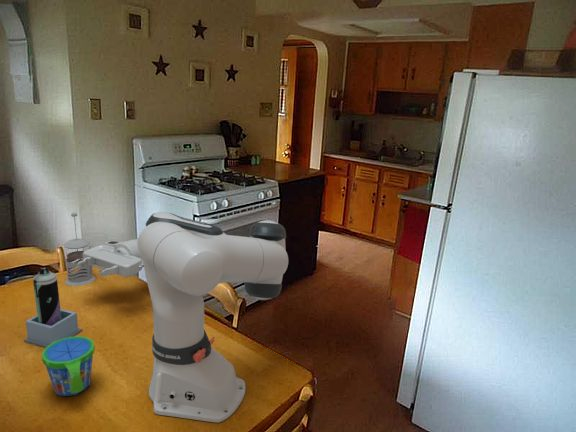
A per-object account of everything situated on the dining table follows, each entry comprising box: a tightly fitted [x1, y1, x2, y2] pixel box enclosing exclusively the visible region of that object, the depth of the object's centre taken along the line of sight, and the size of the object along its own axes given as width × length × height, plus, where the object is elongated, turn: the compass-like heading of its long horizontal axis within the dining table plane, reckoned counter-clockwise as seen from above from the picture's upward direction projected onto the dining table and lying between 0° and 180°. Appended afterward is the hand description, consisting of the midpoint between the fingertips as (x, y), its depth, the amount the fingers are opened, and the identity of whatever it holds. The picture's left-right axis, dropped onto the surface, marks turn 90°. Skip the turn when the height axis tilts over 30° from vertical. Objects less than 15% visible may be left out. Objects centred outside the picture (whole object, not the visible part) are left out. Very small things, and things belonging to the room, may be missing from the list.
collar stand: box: [23, 308, 83, 349], centre depth 115 cm, size 10×10×6 cm
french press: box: [63, 212, 96, 287], centre depth 146 cm, size 10×12×25 cm
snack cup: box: [41, 335, 95, 397], centre depth 96 cm, size 16×10×10 cm
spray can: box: [32, 266, 61, 326], centre depth 112 cm, size 6×6×20 cm
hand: (89, 269), depth 123 cm, fingers open, 8 cm apart
